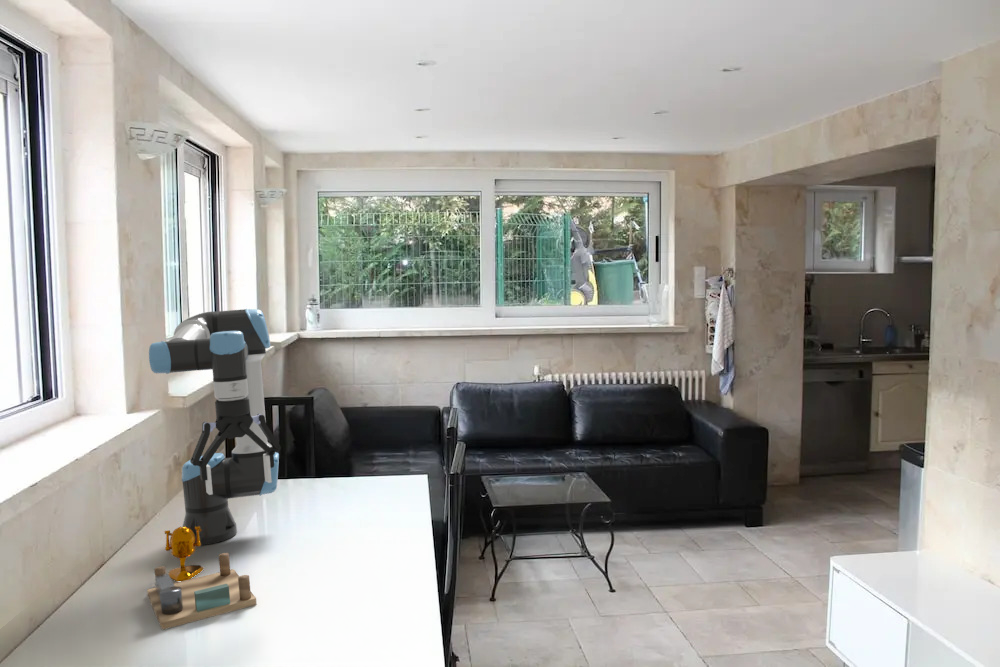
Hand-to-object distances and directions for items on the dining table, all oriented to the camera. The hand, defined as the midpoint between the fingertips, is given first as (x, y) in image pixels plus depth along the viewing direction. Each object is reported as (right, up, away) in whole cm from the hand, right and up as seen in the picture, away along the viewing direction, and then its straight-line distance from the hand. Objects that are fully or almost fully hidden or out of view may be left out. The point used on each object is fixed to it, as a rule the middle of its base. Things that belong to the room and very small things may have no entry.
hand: (239, 487), depth 185 cm
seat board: (-8, -26, -2) cm, 27 cm away
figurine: (-19, -25, +15) cm, 35 cm away
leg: (-14, -25, -6) cm, 29 cm away
